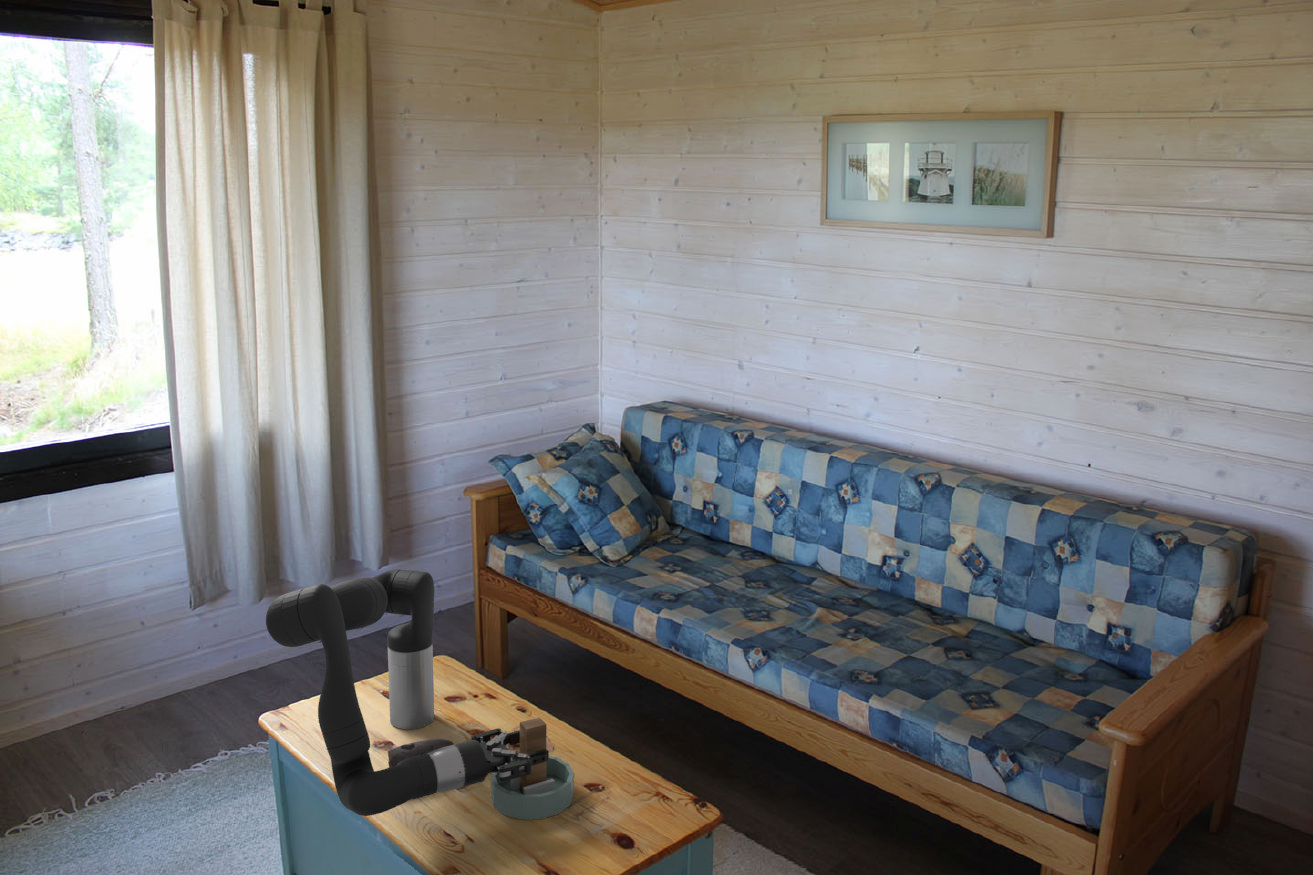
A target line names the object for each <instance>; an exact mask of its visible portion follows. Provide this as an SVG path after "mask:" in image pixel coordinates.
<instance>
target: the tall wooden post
mask: <svg viewBox="0 0 1313 875" xmlns="http://www.w3.org/2000/svg"><path fill="white" fill-rule="evenodd" d="M519 726H520V753H521V754H528V753H531V752H535V751H538V750H542V749H546V736H547V723H546V722H545V721H544V720H543V719H542V718H541V717H535V718H532V719H528V720H524V721H520V722H519ZM522 760H523V759H520V761H522ZM522 770H524V769H520V771H522ZM543 781H546V762H543V763H540V764H536V765H533V766H531V774H530V775H526V776H522V777H520V791H521V793H522V794H523V787H526V786H530V785H533V784H536V783H540V782H543Z"/></svg>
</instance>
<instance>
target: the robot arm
mask: <svg viewBox="0 0 1313 875" xmlns="http://www.w3.org/2000/svg"><path fill="white" fill-rule="evenodd" d="M434 605H435V582H434V578H433V576H432V575H431V573H429V572H427V571H421V570H412V569H402V568H401V569H398V568H395V569H389V570H385V571H384V572H381V573H379V574H377V575H375V576H373V577H369V576H368V577H367V576H366V577H358V578H353V579H349V580H345V581H342V582H341V581H340V582H339V583H335V584H333V585H330V586H329V585H327V584H324V583H318V584H314V585H311V586H307V587H303V588H299V589H296V590H293V591H290V592H287V593H284V594H282V595H279V596H278V597H276V598H275V599H274V600H273V601H272V602H271V604H270V605H269V606H268V607H267V608H268V609H267V611H266V613H265V614H266V615H265V624H266V625H265V626H266V629H267V632H268V634H269V635H270V637H271V638H272V639H273V641H274V642H276V643H277V644H279V645H280V646H282V647H286V648H297V647H301V646H305V645H307V644H311V643H315V642H318V641H321V644H322V647H323V651H324V656H325V671H324V677H323V683H322V686H321V687H322V688H321V691H320V696H319V699H318V705H317V706H318V707H317V718H318V723H319V728H320V731H321V734H322V738H323V740H324V744H325V747H326V750H327V752H328V753H327V754H328V755H329V757H330V762H331V764H330V765H331V770H332V776H333V783H334V786H335V790H336V793H337V796H338V799H339V801H340V802H341V804H342V805H343V807H345V808H346V809H348V810H349V811H351V812H352V813H354V814H356V815H358V816H364V817H368V816H374V815H378V814H382V813H384V812H387V811H390V810H392V809H394V808H396V807H397V808H398V807H399V806H401V805H403V804H405V803H408V802H409V801H412V800H417V799H421V798H424V797H427V796H432V795H435V794H439V793H447V792H451V791H454V790H458V789H462V788H465V787H469V786H472V785H476V784H480V783H482V782H485V780H486V777H487V776H488V775H489V774H492V773H498V774H499V780H500V781H506V780H510V779H514V778H518V777H522V776H526V775H530V774H531V766H533V765H536V764H540V763H543V762H546V761H548V759H549V756H550V755H549V752H550V751H549V752H548V750H547V749H542V750H538V751H535V752H531V753H528V754H521V753H518V752H517V751H514V750H509V749H507V748H506V747H507V746H508V743H509V745H514V744H517V743H520V730H519V731H511V732H508V731H502V729H501V728H499V727H498V728H494V729H491V730H488V731H483V732H480V733H477V734H474V735H472V736H471V739H470V740H467V741H463V742H458V743H454V745H451V746H447V747H443V748H440V749H437V750H434V751H432V752H430V753H427V754H422V755H419V756H415V757H411V758H408V759H405V760H402V761H401V762H399V763H398V764H397V765H396V766H394V767H390V768H389V767H387V768H384V769H380V770H376V771H375V770H374V766H373V764H372V759H371V757H370V756H371V755H370V753H369V750H370V749H371V740H370V736H369V732H368V729H367V726H366V724H365V719H364V716H363V714H362V710H361V707H360V703H359V700H358V696H357V691H356V686H355V681H354V673H353V668H352V660H351V654H350V648H349V641H348V635H347V631H348V632H349V631H353V630H358V629H362V628H366V627H369V626H372V625H374V624H376V623H377V622H378V621H380V620H381V618H383V616H384V615H385V614H391V615H392V614H393V615H401V616H402V615H403V616H410V617H411V621H410V622H406V623H403V624H399V625H397V626H394V627H392V629H390V630H389V631H388V633H387V638H386V639H387V642H386V643H387V660H388V662H387V664H388V696H389V697H388V698H389V699H388V700H389V721H390V724H391V725H392V726H393V727H395V728H399V729H400V730H401V729H403V730H413V729H419V728H420V729H421V728H424V727H425V726H428V725H430V724H431V723H432V722H433V721H434V719H435V692H434V691H435V690H434V687H435V686H434V655H433V652H434V651H433V650H434V648H433V633H434V620H435V619H434V617H435V616H434V611H435V610H434V609H435V608H434V607H435V606H434ZM492 736H494V737H493V738H491V737H492ZM511 758H512V763H510V761H511ZM518 759H523V760H522V761H518ZM509 763H510V764H509ZM519 769H524V770H522V771H519Z"/></svg>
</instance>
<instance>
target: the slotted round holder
mask: <svg viewBox="0 0 1313 875" xmlns="http://www.w3.org/2000/svg"><path fill="white" fill-rule="evenodd" d="M518 761H520V759H518ZM510 763H512V757H511V761H510ZM510 763H509V764H510ZM519 771H520V769H519ZM574 795H575V773H574V771H573V769H572V767H571V765H570V764H569V763H568V762H566V761H564V760H562V759H561V758H560V757H559V756H558V757H556V756H552V755H549V759H548V761H546V781H543V782H540V783H536V784H533V785H530V786H526V787H523V794H522V793H521V791H520V777H518V778H514V779H510V780H506V781H500V780H499V774H498V773H491V775H490V799H491V803H492V805H493V807H494V809H495V810H497V811H498V812H500V813H501V814H502V815H504V816H506V817H510V818H514V819H518V820H523V821H524V820H525V821H527V820H543V819H546V818H550V817H552V816H556V815H559V814H560V813H562V812H563V811H564V810H566V809H567V808H568V807H570V806H571V804H572V801H573V799H574Z"/></svg>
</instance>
